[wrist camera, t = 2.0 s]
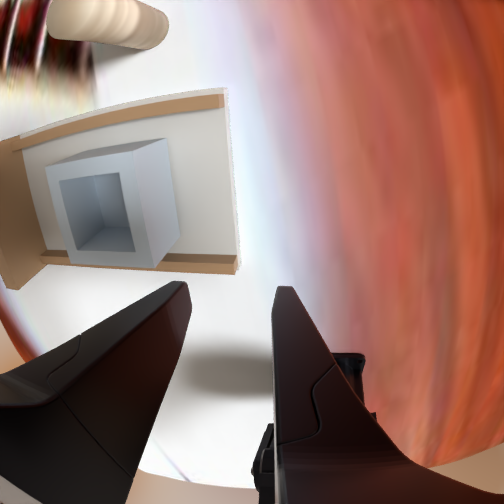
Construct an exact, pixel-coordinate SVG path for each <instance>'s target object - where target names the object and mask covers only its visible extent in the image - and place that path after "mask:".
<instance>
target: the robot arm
mask: <svg viewBox="0 0 504 504" xmlns="http://www.w3.org/2000/svg"><path fill="white" fill-rule="evenodd" d="M191 312H192V303H191V298H190V294H189V289H188V285H187V283H186V282H184V281H172V282H170V283H168V284H166V285H164V286H163V287H161V288H159V289H157V290H156V291H154V292H152V293H150V294H149V295H147V296H145V297H143V298H142V299H140V300H138V301H136V302H135V303H133V304H131V305H129V306H128V307H126V308H124V309H122V310H121V311H119V312H117V313H116V314H114V315H112V316H110V317H109V318H107V319H105V320H103V321H102V322H100V323H98V324H97V325H95V326H93V327H91V328H90V329H88V330H86V331H85V332H83V333H81V335H78V336H76V337H74V338H72V339H71V340H69V341H67V342H65V343H64V344H62V345H60V346H58V347H57V348H55V349H53V350H51V351H49V352H47V353H45V354H43V355H41V356H39V357H37V358H35V359H33V360H31V361H29V362H27V363H25V364H23V365H21V366H19V367H17V368H14V369H12V370H11V371H8V372H6V373H3V374H0V504H125V502H126V500H127V497H128V494H129V491H130V488H131V486H132V483H133V478H134V477H135V474H136V471H137V468H138V465H139V463H140V460H141V457H142V454H143V452H144V449H145V446H146V443H147V441H148V438H149V435H150V433H151V430H152V427H153V425H154V422H155V419H156V417H157V414H158V411H159V409H160V406H161V403H162V401H163V398H164V396H165V393H166V390H167V388H168V385H169V383H170V380H171V377H172V375H173V372H174V370H175V367H176V365H177V362H178V359H179V357H180V354H181V350H182V346H183V343H184V339H185V335H186V331H187V327H188V324H189V320H190V316H191ZM271 322H272V364H273V403H274V423H269V424H268V426H267V429H266V431H265V432H264V435H263V438H262V441H261V443H260V446H259V449H258V451H257V454H256V457H255V459H254V462H253V467H252V469H251V474H252V475H253V476H254V483H255V487H256V489H257V491H258V492H259V504H504V494H494V493H490V492H486V491H483V490H480V489H477V488H474V487H472V486H469V485H466V484H464V483H461V482H458V481H456V480H453V479H451V478H449V477H446V476H443V475H441V474H439V473H436V472H434V471H432V470H429V469H427V468H425V467H423V466H420V465H418V464H416V463H415V462H413V461H412V460H410V459H409V458H408V457H407V456H405V455H404V454H403V453H402V452H401V451H400V450H399V449H398V448H397V446H396V445H395V444H394V443H393V441H392V440H391V439H390V438H389V436H388V435H387V434H386V433H385V431H384V430H383V429H382V428H381V426H380V425H379V424H378V422H377V418H376V412H374V413H370V412H369V411H368V410H367V408H366V407H365V403H364V392H363V383H362V372H363V368H364V365H365V356H364V355H361V354H331V352H330V350H329V349H328V347H327V345H326V343H325V342H324V340H323V338H322V336H321V335H320V333H319V331H318V330H317V328H316V326H315V324H314V323H313V321H312V319H311V317H310V316H309V314H308V312H307V311H306V309H305V307H304V305H303V304H302V302H301V300H300V299H299V297H298V295H297V293H296V292H295V290H294V288H293V287H292V286H278V287H277V290H276V294H275V299H274V303H273V307H272V313H271Z"/></svg>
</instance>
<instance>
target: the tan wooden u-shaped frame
mask: <svg viewBox="0 0 504 504" xmlns="http://www.w3.org/2000/svg"><path fill="white" fill-rule="evenodd" d="M162 138H167V146H168V154H169V162H170V169H171V177H172V184H173V191H174V198H175V204H176V211H177V217H178V223H179V229H180V235H181V236H180V237H179V239H178V240H177V241H176V242H175V244H174V245H173V246H172V247H171V249H170V250H169V251H168V252H167V254H166V255H165V256H164V257H163V259H162V260H161V261H160V262H159V264H158V265H157V266H156V268H138V267H120V266H103V265H86V264H71V262H70V259H69V256H68V253H67V250H66V247H65V244H64V240H63V237H62V234H61V230H60V227H59V224H58V220H57V216H56V213H55V209H54V205H53V201H52V197H51V193H50V188H49V184H48V180H47V175H46V170H45V167H46V166H49V165H51V164H53V163H56V162H58V161H61V160H63V159H65V158H68V157H70V156H73V155H76V154H78V153H81V152H83V151H87V150H92V149H98V148H103V147H108V146H114V145H120V144H126V143H133V142H139V141H146V140H154V139H162ZM47 264H54V265H67V266H81V267H96V268H112V269H128V270H146V271H165V272H184V273H206V274H230V275H235V272H236V270H239V268H240V265H241V253H240V242H239V230H238V218H237V206H236V193H235V181H234V168H233V156H232V143H231V129H230V116H229V102H228V88H225V87H222V88H212V89H204V90H196V91H188V92H182V93H175V94H169V95H163V96H157V97H152V98H147V99H142V100H137V101H132V102H127V103H123V104H119V105H114V106H110V107H106V108H102V109H98V110H95V111H91V112H87V113H84V114H80V115H77V116H74V117H70V118H67V119H64V120H61V121H58V122H55V123H52V124H49V125H46V126H43V127H40V128H37V129H34V130H32V131H29V132H26V133H24V134H21V135H18V136H15V137H12V138H9V139H6V140H3V141H1V142H0V274H1V276H2V279H3V281H4V283H5V286H6V288H9V289H14V290H19V289H20V288H21V287H22V286H24V285H25V284H26V283H27V282H28V281H29V280H30V279H31V278H32V277H33V276H35V275H36V274H37V273H38V272H39V271H40V270H41V269H43V268H44V267H45V266H46V265H47Z"/></svg>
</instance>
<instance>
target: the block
mask: <svg viewBox="0 0 504 504" xmlns="http://www.w3.org/2000/svg"><path fill="white" fill-rule="evenodd" d="M45 170H46V175H47V180H48V184H49V188H50V193H51V197H52V201H53V205H54V209H55V213H56V216H57V220H58V224H59V227H60V230H61V234H62V237H63V240H64V244H65V247H66V250H67V253H68V256H69V259H70V262H71V264H86V265H103V266H120V267H138V268H156V266H157V265H158V264H159V262H160V261H161V260H162V259H163V257H164V256H165V255H166V254H167V252H168V251H169V250H170V249H171V247H172V246H173V245H174V244H175V242H176V241H177V240H178V239H179V237H180V236H181V235H180V229H179V223H178V217H177V211H176V204H175V198H174V191H173V184H172V177H171V169H170V162H169V154H168V146H167V138H162V139H154V140H146V141H139V142H133V143H126V144H120V145H114V146H108V147H103V148H98V149H92V150H87V151H83V152H81V153H78V154H76V155H73V156H70V157H68V158H65V159H63V160H61V161H58V162H56V163H53V164H51V165H49V166H46V167H45Z"/></svg>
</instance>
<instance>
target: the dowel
mask: <svg viewBox="0 0 504 504" xmlns="http://www.w3.org/2000/svg"><path fill="white" fill-rule="evenodd" d="M46 25H47V30H48V32H49V34H50V35H51V36H52V37H54V38H56V39H66V40H78V41H88V42H97V43H104V44H112V45H118V46H124V47H130V48H136V49H141V50H147V49H151V48H153V47H155V46H157V45H158V44H160V43H161V42H162V41H163V40H164V38H165V37H166V35H167V33H168V29H169V21H168V18H167V16H166V15H165V14H164V13H163V12H161V11H160V10H157V9H155V8H153V7H151V6H149V5H146V4H144V3H142V2H140V1H137V0H53V1H52V3H51V5H50V7H49V10H48V13H47V20H46Z"/></svg>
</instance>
